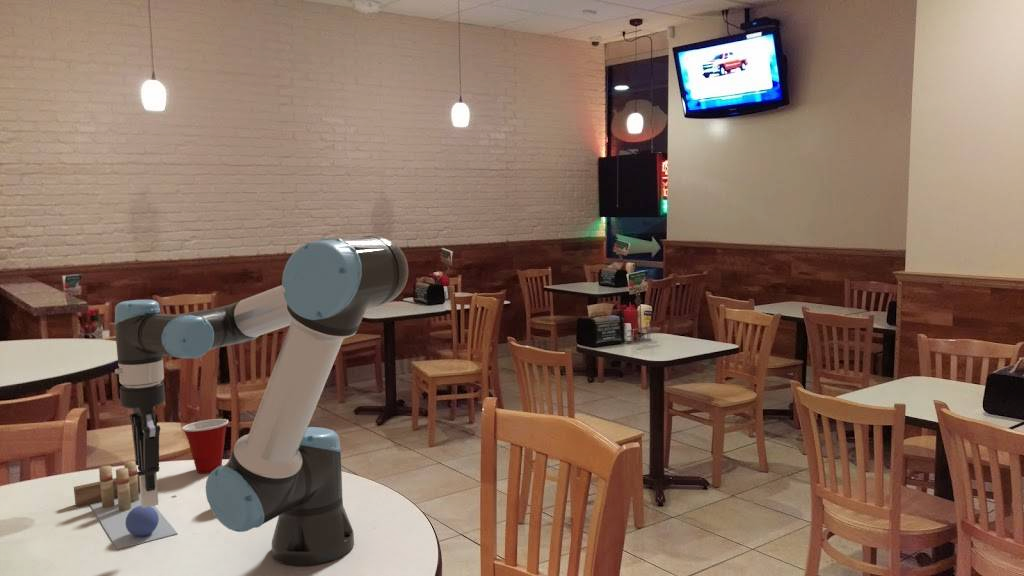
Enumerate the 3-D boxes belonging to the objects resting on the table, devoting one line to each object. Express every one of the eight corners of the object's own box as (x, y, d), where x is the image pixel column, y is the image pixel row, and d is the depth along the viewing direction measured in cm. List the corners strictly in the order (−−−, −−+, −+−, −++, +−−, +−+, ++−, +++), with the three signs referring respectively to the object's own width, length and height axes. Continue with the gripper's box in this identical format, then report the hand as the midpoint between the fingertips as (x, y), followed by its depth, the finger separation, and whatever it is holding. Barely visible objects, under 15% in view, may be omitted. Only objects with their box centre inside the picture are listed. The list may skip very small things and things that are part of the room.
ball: (163, 535, 156) (160, 506, 155) (130, 544, 152) (127, 514, 152) (155, 526, 161) (153, 498, 160) (123, 534, 157) (121, 505, 156)
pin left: (115, 507, 172) (112, 467, 170) (103, 510, 170) (99, 470, 169) (113, 503, 173) (110, 464, 172) (101, 506, 172) (97, 467, 171)
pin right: (140, 501, 174) (137, 462, 174) (128, 504, 173) (125, 464, 172) (138, 498, 176) (135, 459, 175) (125, 501, 175) (122, 462, 174)
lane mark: (177, 534, 157) (177, 533, 156) (117, 549, 150) (117, 548, 150) (143, 493, 179) (143, 492, 179) (90, 505, 173) (90, 504, 173)
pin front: (132, 510, 170) (129, 469, 169) (120, 513, 168) (116, 472, 167) (130, 506, 172) (127, 467, 171) (117, 509, 170) (114, 469, 169)
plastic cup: (215, 459, 202) (212, 414, 201) (240, 467, 196) (237, 420, 195) (176, 471, 194) (172, 424, 192) (201, 480, 187) (198, 431, 186)
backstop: (154, 489, 182) (153, 472, 181) (76, 506, 172) (75, 489, 172) (152, 487, 183) (151, 470, 183) (75, 504, 174) (73, 486, 173)
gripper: (112, 379, 148) (120, 499, 151) (127, 393, 138) (136, 521, 141) (154, 374, 153) (162, 490, 155) (172, 386, 142) (179, 511, 145)
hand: (149, 505), depth 148 cm, fingers closed
